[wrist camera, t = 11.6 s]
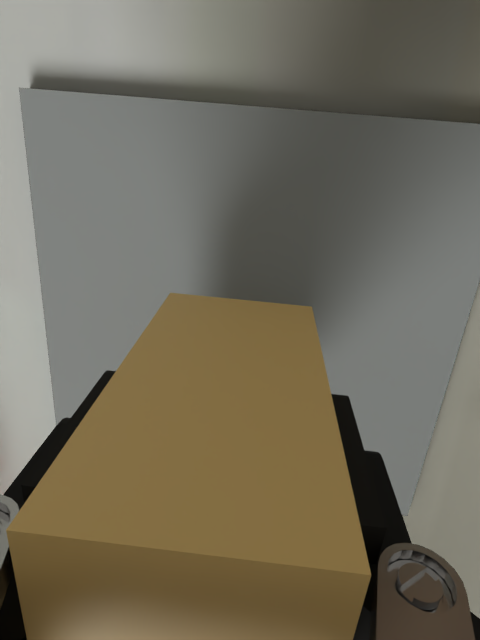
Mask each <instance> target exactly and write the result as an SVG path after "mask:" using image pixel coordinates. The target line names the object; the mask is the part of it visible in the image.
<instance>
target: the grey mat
mask: <svg viewBox="0 0 480 640" xmlns="http://www.w3.org/2000/svg"><path fill="white" fill-rule="evenodd" d="M19 92H20V101H21V110H22V119H23V128H24V138H25V147H26V156H27V165H28V174H29V183H30V192H31V201H32V210H33V219H34V228H35V237H36V246H37V255H38V264H39V273H40V282H41V292H42V301H43V310H44V319H45V328H46V337H47V346H48V355H49V364H50V373H51V382H52V391H53V400H54V409H55V418H56V426H57V424H58V423H59V422H60V421H61V420H62V419H63V418H66V417H67V418H71V417H72V416H73V414H74V413H75V412H76V410H77V409H78V407H79V406H80V405H81V403H82V402H83V401H84V399H85V398H86V397H87V395H88V394H89V393H90V391H91V390H92V388H93V387H94V386H95V384H96V383H97V382H98V380H99V379H100V378H101V376H102V375H103V374H104V372H105V371H107V370H110V371H116V370H117V369H118V368H119V366H120V365H121V363H122V362H123V360H124V359H125V357H126V356H127V355H128V353H129V352H130V350H131V349H132V347H133V346H134V344H135V343H136V342H137V340H138V339H139V337H140V336H141V334H142V333H143V331H144V330H145V329H146V327H147V326H148V324H149V323H150V321H151V320H152V318H153V317H154V316H155V314H156V313H157V311H158V310H159V308H160V307H161V305H162V304H163V303H164V301H165V300H166V298H167V297H168V295H169V294H170V293H179V294H189V295H199V296H209V297H219V298H229V299H240V300H250V301H260V302H270V303H280V304H290V305H301V306H311V307H312V309H313V314H314V318H315V323H316V327H317V332H318V336H319V341H320V345H321V350H322V354H323V359H324V363H325V368H326V373H327V377H328V382H329V386H330V391H331V394H337V395H347V396H349V399H350V402H351V406H352V409H353V413H354V416H355V420H356V423H357V426H358V430H359V433H360V437H361V440H362V444H363V447H364V450H365V451H374V452H379V453H380V454H381V456H382V458H383V461H384V464H385V467H386V470H387V473H388V476H389V479H390V481H391V484H392V487H393V490H394V493H395V496H396V499H397V502H398V505H399V508H400V511H401V514H402V515H405V516H408V512H409V509H410V506H411V503H412V499H413V496H414V493H415V490H416V486H417V483H418V480H419V477H420V473H421V470H422V467H423V463H424V460H425V457H426V454H427V450H428V447H429V444H430V441H431V437H432V434H433V431H434V428H435V424H436V421H437V418H438V415H439V411H440V408H441V405H442V402H443V398H444V395H445V392H446V389H447V385H448V382H449V379H450V376H451V372H452V369H453V366H454V363H455V359H456V356H457V353H458V350H459V346H460V343H461V340H462V337H463V333H464V330H465V327H466V324H467V320H468V317H469V314H470V311H471V307H472V304H473V301H474V298H475V294H476V291H477V288H478V285H479V281H480V124H475V123H462V122H450V121H437V120H424V119H412V118H399V117H386V116H373V115H361V114H348V113H335V112H323V111H310V110H297V109H284V108H272V107H259V106H246V105H234V104H221V103H208V102H195V101H183V100H170V99H157V98H145V97H132V96H119V95H106V94H94V93H81V92H68V91H56V90H43V89H30V88H19Z"/></svg>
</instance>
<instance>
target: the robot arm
mask: <svg viewBox="0 0 480 640" xmlns="http://www.w3.org/2000/svg"><path fill="white" fill-rule="evenodd" d="M115 372H116V371H110V370H107V371H105V372H104V374H103V375H102V376H101V378H100V379H99V380H98V382H97V383H96V384H95V386H94V387H93V388H92V390H91V391H90V393H89V394H88V395H87V397H86V398H85V399H84V401H83V402H82V403H81V405H80V406H79V407H78V409H77V410H76V412H75V413H74V414H73V416H72V417H71V418H67V417H66V418H63V419H62V420H61V421H60V422H59V423H58V424H57V426H56V427H55V428H54V430H53V431H52V432H51V434H50V435H49V436H48V437H47V439H46V440H45V441H44V443H43V444H42V445H41V447H40V448H39V449H38V450H37V452H36V453H35V454H34V456H33V457H32V458H31V460H30V461H29V462H28V463H27V465H26V466H25V467H24V469H23V470H22V471H21V473H20V474H19V475H18V476H17V478H16V479H15V480H14V482H13V483H12V484H11V486H10V487H9V488H8V489H7V491H6V492H5V493H4V495H0V640H27V637H26V632H25V627H24V621H23V616H22V611H21V606H20V601H19V595H18V590H17V585H16V580H15V574H14V569H13V564H12V559H11V554H10V548H9V543H8V538H7V533H6V529H7V528H8V527H9V525H10V524H11V522H12V521H13V519H14V518H15V516H16V515H17V514H18V512H19V511H20V509H21V508H22V506H23V505H24V503H25V502H26V501H27V499H28V498H29V496H30V495H31V493H32V492H33V490H34V489H35V487H36V486H37V485H38V483H39V482H40V480H41V479H42V477H43V476H44V474H45V473H46V472H47V470H48V469H49V467H50V466H51V464H52V463H53V461H54V460H55V459H56V457H57V456H58V454H59V453H60V451H61V450H62V448H63V447H64V446H65V444H66V443H67V441H68V440H69V438H70V437H71V435H72V434H73V433H74V431H75V430H76V428H77V427H78V425H79V424H80V422H81V421H82V420H83V418H84V417H85V415H86V414H87V412H88V411H89V409H90V408H91V407H92V405H93V404H94V402H95V401H96V399H97V398H98V396H99V395H100V394H101V392H102V391H103V389H104V388H105V386H106V385H107V383H108V382H109V381H110V379H111V378H112V376H113V375H114V373H115ZM331 395H332V400H333V404H334V409H335V413H336V418H337V422H338V427H339V431H340V436H341V440H342V445H343V449H344V454H345V458H346V463H347V467H348V472H349V476H350V481H351V485H352V490H353V494H354V499H355V503H356V508H357V512H358V517H359V522H360V526H361V531H362V535H363V540H364V544H365V549H366V553H367V558H368V562H369V567H370V571H371V578H370V582H369V585H368V589H367V592H366V595H365V599H364V602H363V606H362V609H361V613H360V616H359V620H358V623H357V627H356V630H355V634H354V637H353V640H480V619H479V618H478V617H477V616H475V615H474V614H473V613H472V612H470V608H469V603H468V597H467V593H466V590H465V587H464V584H463V581H462V580H461V578H460V577H459V575H458V574H457V572H456V571H455V569H454V568H453V567H452V566H451V565H450V564H449V563H448V562H447V561H446V560H445V559H444V558H442V557H441V556H439V555H438V554H436V553H435V552H433V551H432V550H429V549H427V548H425V547H422V546H420V545H416V544H412V543H411V541H410V538H409V535H408V532H407V529H406V526H405V523H404V520H403V517H402V514H401V511H400V508H399V505H398V502H397V499H396V496H395V493H394V490H393V487H392V484H391V481H390V479H389V476H388V473H387V470H386V467H385V464H384V461H383V458H382V456H381V454H380V453H379V452H374V451H365V450H364V447H363V444H362V440H361V437H360V433H359V430H358V426H357V423H356V420H355V416H354V413H353V409H352V406H351V402H350V399H349V396H347V395H337V394H331Z"/></svg>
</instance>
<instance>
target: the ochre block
mask: <svg viewBox="0 0 480 640" xmlns="http://www.w3.org/2000/svg"><path fill="white" fill-rule="evenodd" d="M6 533H7V538H8V543H9V548H10V554H11V559H12V564H13V569H14V574H15V580H16V585H17V590H18V595H19V601H20V606H21V611H22V616H23V621H24V627H25V632H26V637H27V640H353V637H354V634H355V630H356V627H357V623H358V620H359V616H360V613H361V609H362V606H363V602H364V599H365V595H366V592H367V589H368V585H369V582H370V578H371V571H370V567H369V562H368V558H367V553H366V549H365V544H364V540H363V535H362V531H361V526H360V522H359V517H358V512H357V508H356V503H355V499H354V494H353V490H352V485H351V481H350V476H349V472H348V467H347V463H346V458H345V454H344V449H343V445H342V440H341V436H340V431H339V427H338V422H337V418H336V413H335V409H334V404H333V400H332V395H331V391H330V386H329V382H328V377H327V373H326V368H325V363H324V359H323V354H322V350H321V345H320V341H319V336H318V332H317V327H316V323H315V318H314V314H313V309H312V307H311V306H301V305H290V304H280V303H270V302H260V301H250V300H240V299H229V298H219V297H209V296H199V295H189V294H179V293H170V294H169V295H168V297H167V298H166V300H165V301H164V303H163V304H162V305H161V307H160V308H159V310H158V311H157V313H156V314H155V316H154V317H153V318H152V320H151V321H150V323H149V324H148V326H147V327H146V329H145V330H144V331H143V333H142V334H141V336H140V337H139V339H138V340H137V342H136V343H135V344H134V346H133V347H132V349H131V350H130V352H129V353H128V355H127V356H126V357H125V359H124V360H123V362H122V363H121V365H120V366H119V368H118V369H117V370H116V372H115V373H114V375H113V376H112V378H111V379H110V381H109V382H108V383H107V385H106V386H105V388H104V389H103V391H102V392H101V394H100V395H99V396H98V398H97V399H96V401H95V402H94V404H93V405H92V407H91V408H90V409H89V411H88V412H87V414H86V415H85V417H84V418H83V420H82V421H81V422H80V424H79V425H78V427H77V428H76V430H75V431H74V433H73V434H72V435H71V437H70V438H69V440H68V441H67V443H66V444H65V446H64V447H63V448H62V450H61V451H60V453H59V454H58V456H57V457H56V459H55V460H54V461H53V463H52V464H51V466H50V467H49V469H48V470H47V472H46V473H45V474H44V476H43V477H42V479H41V480H40V482H39V483H38V485H37V486H36V487H35V489H34V490H33V492H32V493H31V495H30V496H29V498H28V499H27V501H26V502H25V503H24V505H23V506H22V508H21V509H20V511H19V512H18V514H17V515H16V516H15V518H14V519H13V521H12V522H11V524H10V525H9V527H8V528H7V529H6Z"/></svg>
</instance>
